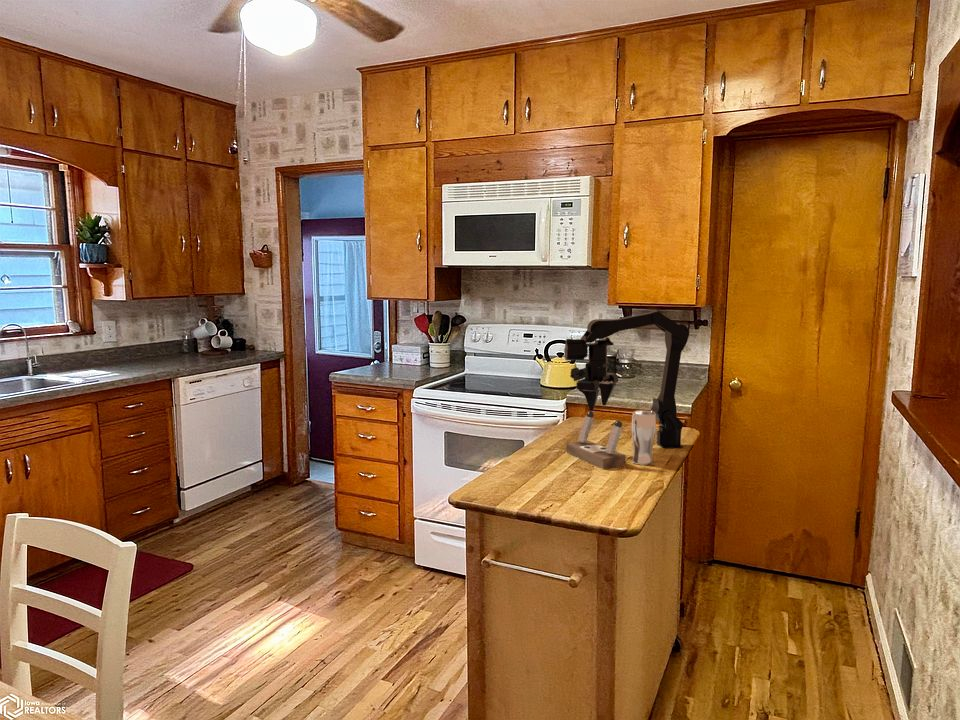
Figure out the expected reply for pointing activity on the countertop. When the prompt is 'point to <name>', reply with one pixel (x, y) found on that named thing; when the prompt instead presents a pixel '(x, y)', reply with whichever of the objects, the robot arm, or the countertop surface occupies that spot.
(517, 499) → the countertop surface
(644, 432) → the beer glass
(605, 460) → the switch box
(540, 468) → the countertop surface
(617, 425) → the lever
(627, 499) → the countertop surface
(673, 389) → the robot arm
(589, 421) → the lever
